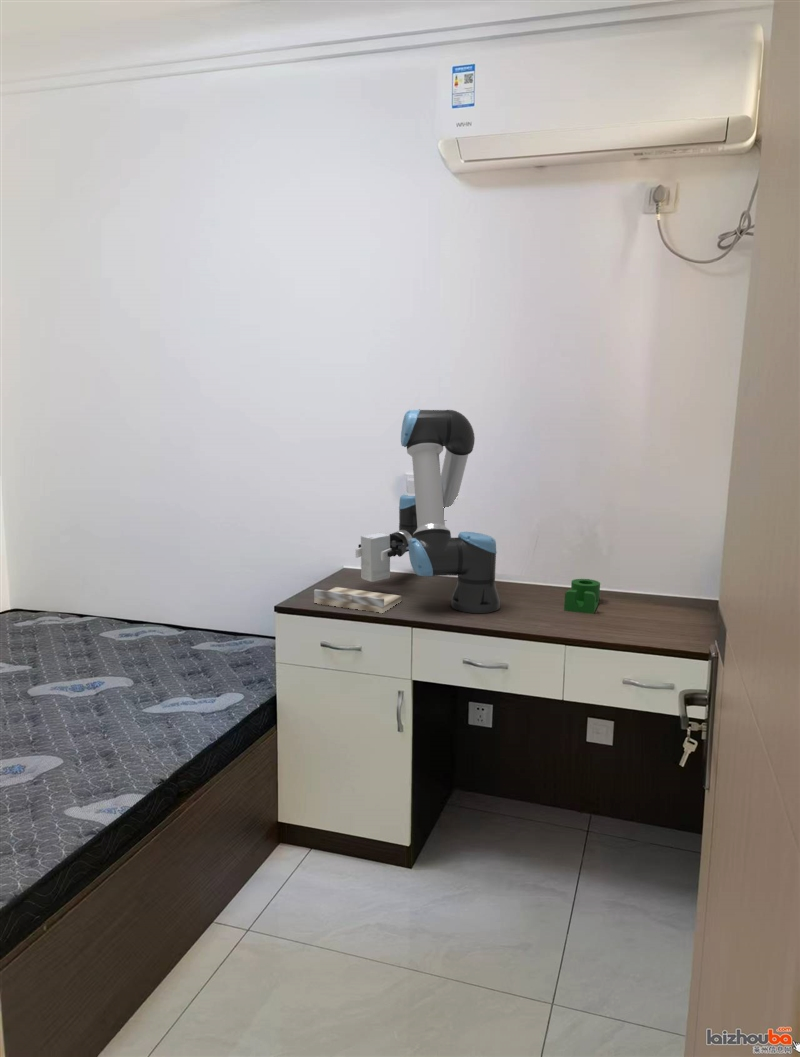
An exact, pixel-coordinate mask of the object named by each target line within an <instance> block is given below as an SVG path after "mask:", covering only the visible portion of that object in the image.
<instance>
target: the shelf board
mask: <svg viewBox="0 0 800 1057" xmlns="http://www.w3.org/2000/svg"><path fill="white" fill-rule="evenodd" d="M402 599H403V598H402V595H397V594H392V593H391V594H389V593H382V592H377V591H376V592H375V591H374V592H373V591H369V590H360V589H353V588H346V587H339V586H335V587H332V588H331V589H329V590H323V589H314V590H313V600H314V601H313V602H314V603H317V604H316V605H321V604H322V606H328V605H329V607H334V606H336V608H341V607H343V608H342V609H348V608H349V609H350V610H355V609H358V610H357V611H362V610H366V611H365V612H369V611H374V612H373V613H376V612H379V613H378V614H382V613H383V614H385V613H386V612H388V611H389V610H391V609H393V608H394V607H395V605H396V604H397V605H399V604H400V602H401V601H402ZM398 603H399V604H398ZM401 603H402V602H401ZM397 605H396V606H397ZM393 606H394V607H393ZM390 608H391V609H390ZM387 610H388V611H387ZM385 611H386V612H385Z"/></svg>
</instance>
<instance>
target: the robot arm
mask: <svg viewBox="0 0 800 1057" xmlns="http://www.w3.org/2000/svg"><path fill="white" fill-rule="evenodd" d="M400 443H401V445H400V446H402V447H404V448H406V453H407V454H408V455H409V456H410V457H411V459H412V460H411V461H412V470H413V485H414V486H413V488H414V494H415V496H408V495H405V494H402V495H401V496H399V506H398V513H399V514H398V516H399V517H398V518H399V523H398V524H399V525H398V530H396V531H395V532H393V533H389V535H390V548H389V549H387V550H385V551H382V552H381V560H385V559H387V558H390V559H391V558H392V557H399V558H400V557H402V556H403V555H404V554H406V553H408V556H409V561H410V562H409V563H410V565H411V568H412V570H413V572H414V573H415V575H417V576H420V577H437V576H439V577H440V576H441V577H442V576H457V583H456V586H455V589H454V591H453V594H452V597H451V603H450V604H451V605H450V606H451V607H452V608H453V609H454V610H457V611H460V612H464V613H470V614H471V613H472V614H487V613H492V612H496V611H498V610H500V608H501V606H500V605H501V601H500V596H499V592H498V590H497V586H496V565H497V564H496V562H497V560H496V559H497V558H496V557H497V554H498V553H497V552H498V551H497V542H496V539H495V537H492V536H491V535H488V534H483V533H480V532H474V531H461V532H459V533H458V535H457V537H452V535H451V530H450V529H449V528H448V527H447V526H446V523H445V521H446V520H444V508H445V507H449V506H451V505H452V504H453V502H454V500H455V499H456V497H457V496H458V497H459V494H458V493H459V492H460V489H461V486H462V481H463V476H464V473H465V469H466V465H467V462H468V458H469V455H470V454H471V453H472V452H473V451H474V446H475V433H474V428H473V426H472V424H471V423H470V421H469V420H468V418H467V417H466V416H465V415H464V414H462V413H461V412H459V411H457V410H453V409H420V408H419V409H411V410H410V409H409V410H407V411H406V412H405V413H404V416H403V420H402V425H401V431H400ZM444 448H445V455H444V460H443V464H442V468H441V462H440V454H441V453H442V452H443V451H444ZM443 507H444V508H443ZM355 558H361V543H359V544H358V548H356V549H355Z"/></svg>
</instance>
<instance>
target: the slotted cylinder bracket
mask: <svg viewBox="0 0 800 1057" xmlns="http://www.w3.org/2000/svg"><path fill="white" fill-rule="evenodd" d="M570 584H571V588H570V589H567V591H566V592H565V594H564V605H563V606H564V608H563V609H564V611H566V612H573V613H583V614H591V615H594V614H595V612H596V610H597V608H598V605H599V603H600V592H601V591H600V590H601V582H600V581H598V580H595V579H590V578H576V579H572V580H571V583H570Z"/></svg>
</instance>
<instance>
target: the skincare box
mask: <svg viewBox="0 0 800 1057" xmlns="http://www.w3.org/2000/svg"><path fill="white" fill-rule="evenodd" d="M360 544H361V557H360V570H361V571H360V572H361V573H360V576H361V577H360V578H361V579H362V580H365V581H367V582H369V583H370V582H371V583H372V582H377V581H381V580H385V579H387V580H388V579H390V578H391V557H390V558H387V559H385V560H381V552H382V551H385V550H387V549H389V548H390V534H386V533H382V532H376V533H371V534H365V535H361V536H360Z"/></svg>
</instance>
